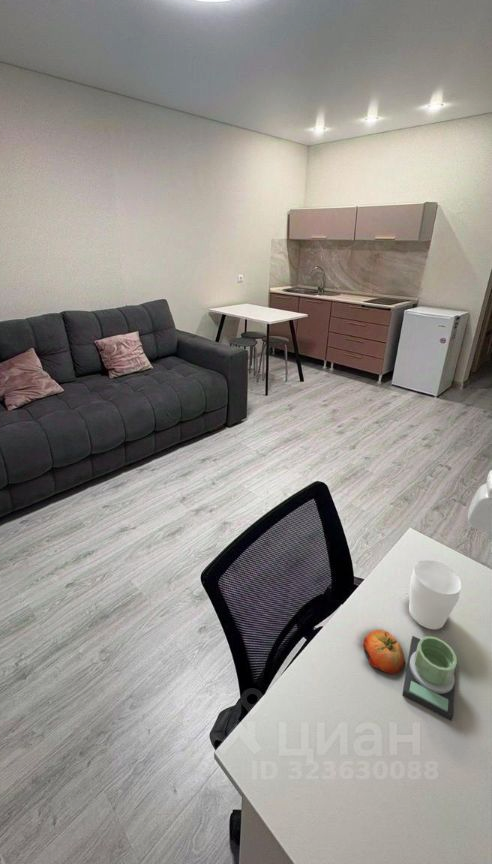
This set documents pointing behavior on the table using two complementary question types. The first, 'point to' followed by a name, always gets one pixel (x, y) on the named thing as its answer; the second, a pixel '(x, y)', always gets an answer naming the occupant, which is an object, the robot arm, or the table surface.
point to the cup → (433, 593)
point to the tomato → (384, 651)
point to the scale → (428, 688)
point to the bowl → (435, 660)
